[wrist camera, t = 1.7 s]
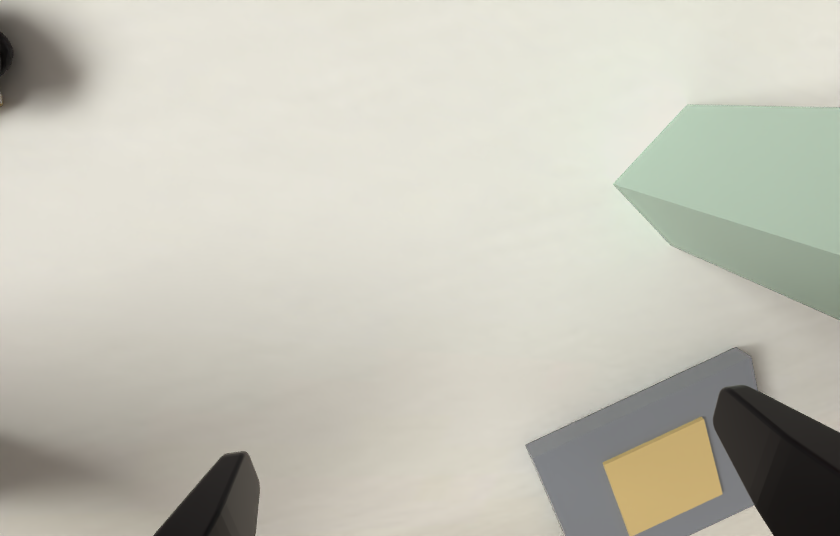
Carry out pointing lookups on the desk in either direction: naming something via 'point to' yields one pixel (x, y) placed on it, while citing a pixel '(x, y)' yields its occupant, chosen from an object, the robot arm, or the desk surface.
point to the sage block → (749, 194)
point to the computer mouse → (4, 57)
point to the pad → (648, 459)
